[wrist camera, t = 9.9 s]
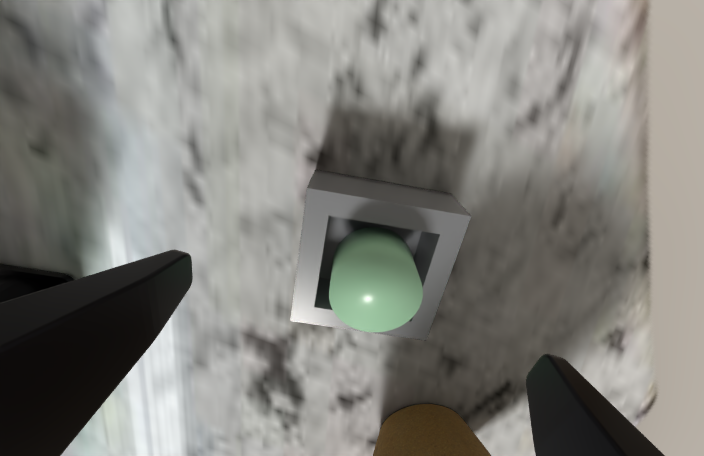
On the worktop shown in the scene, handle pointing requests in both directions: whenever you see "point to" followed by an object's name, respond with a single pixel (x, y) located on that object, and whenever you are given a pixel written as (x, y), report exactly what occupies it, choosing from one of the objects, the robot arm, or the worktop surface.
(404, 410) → the plant pot
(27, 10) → the worktop surface
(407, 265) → the button
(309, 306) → the button housing
